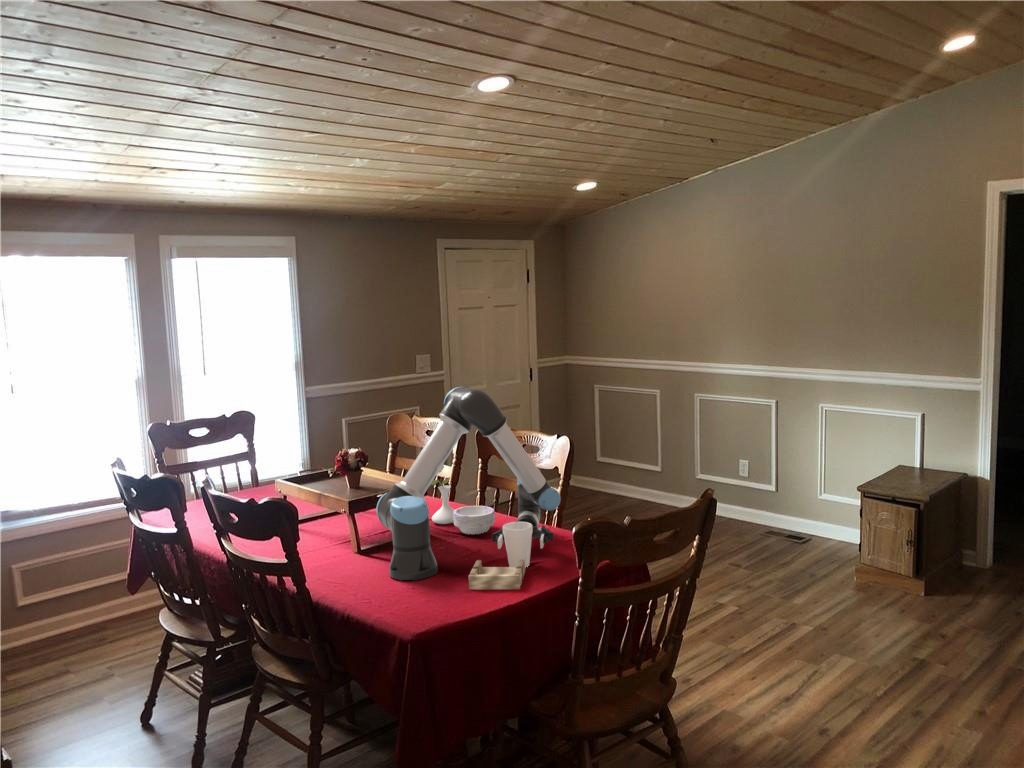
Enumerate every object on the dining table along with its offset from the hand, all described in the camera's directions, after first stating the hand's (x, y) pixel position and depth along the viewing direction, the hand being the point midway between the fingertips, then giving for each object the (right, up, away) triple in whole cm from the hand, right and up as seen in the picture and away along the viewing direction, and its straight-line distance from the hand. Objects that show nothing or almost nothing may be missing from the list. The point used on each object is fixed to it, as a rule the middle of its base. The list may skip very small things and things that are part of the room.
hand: (520, 544), depth 253 cm
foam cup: (0, -7, +1) cm, 7 cm away
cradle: (-7, -9, -11) cm, 16 cm away
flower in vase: (-29, -3, +55) cm, 62 cm away
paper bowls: (-16, -4, +41) cm, 44 cm away
